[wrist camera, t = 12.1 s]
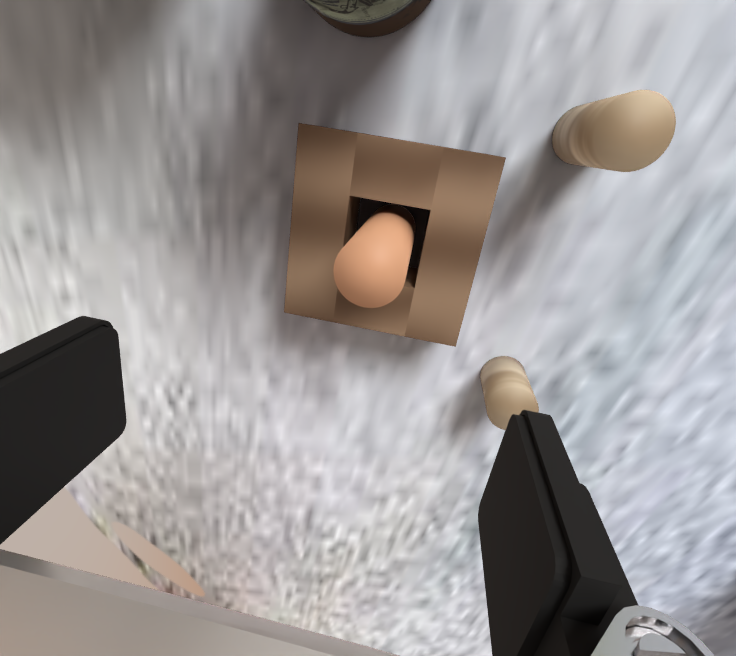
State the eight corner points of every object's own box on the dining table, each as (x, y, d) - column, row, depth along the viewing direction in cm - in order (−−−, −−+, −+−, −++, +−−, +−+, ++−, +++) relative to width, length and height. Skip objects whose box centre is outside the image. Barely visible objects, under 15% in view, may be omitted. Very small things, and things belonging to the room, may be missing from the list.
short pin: (517, 397, 35) (529, 435, 31) (475, 389, 36) (481, 424, 31) (530, 361, 34) (545, 394, 29) (486, 352, 34) (494, 384, 30)
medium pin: (598, 168, 28) (656, 177, 21) (544, 159, 28) (582, 165, 21) (619, 109, 27) (689, 96, 19) (562, 100, 27) (610, 84, 19)
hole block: (452, 319, 33) (455, 346, 29) (304, 290, 34) (284, 312, 30) (494, 155, 28) (505, 157, 24) (319, 126, 29) (298, 122, 25)
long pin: (410, 256, 32) (398, 314, 21) (365, 247, 32) (329, 300, 21) (420, 208, 31) (412, 244, 20) (372, 200, 31) (338, 230, 20)
